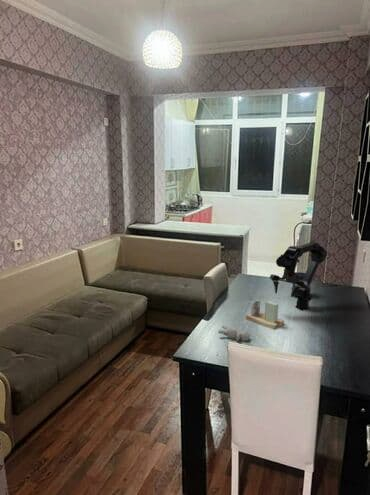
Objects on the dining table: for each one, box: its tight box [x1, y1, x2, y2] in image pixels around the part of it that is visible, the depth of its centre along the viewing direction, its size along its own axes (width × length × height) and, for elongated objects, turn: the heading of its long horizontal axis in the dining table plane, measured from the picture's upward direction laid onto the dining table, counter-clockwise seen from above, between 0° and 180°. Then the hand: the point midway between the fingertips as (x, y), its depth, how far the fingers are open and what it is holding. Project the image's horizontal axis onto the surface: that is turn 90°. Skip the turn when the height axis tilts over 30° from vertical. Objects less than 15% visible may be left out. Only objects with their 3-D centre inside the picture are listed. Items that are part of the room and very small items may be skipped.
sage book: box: [264, 300, 279, 323], centre depth 194 cm, size 3×6×10 cm, turn 42°
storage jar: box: [291, 271, 306, 299], centre depth 237 cm, size 10×10×15 cm
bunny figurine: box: [217, 324, 251, 342], centre depth 179 cm, size 10×5×15 cm
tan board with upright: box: [245, 299, 285, 330], centre depth 197 cm, size 10×18×10 cm, turn 43°
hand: (283, 295), depth 204 cm, fingers open, 9 cm apart
